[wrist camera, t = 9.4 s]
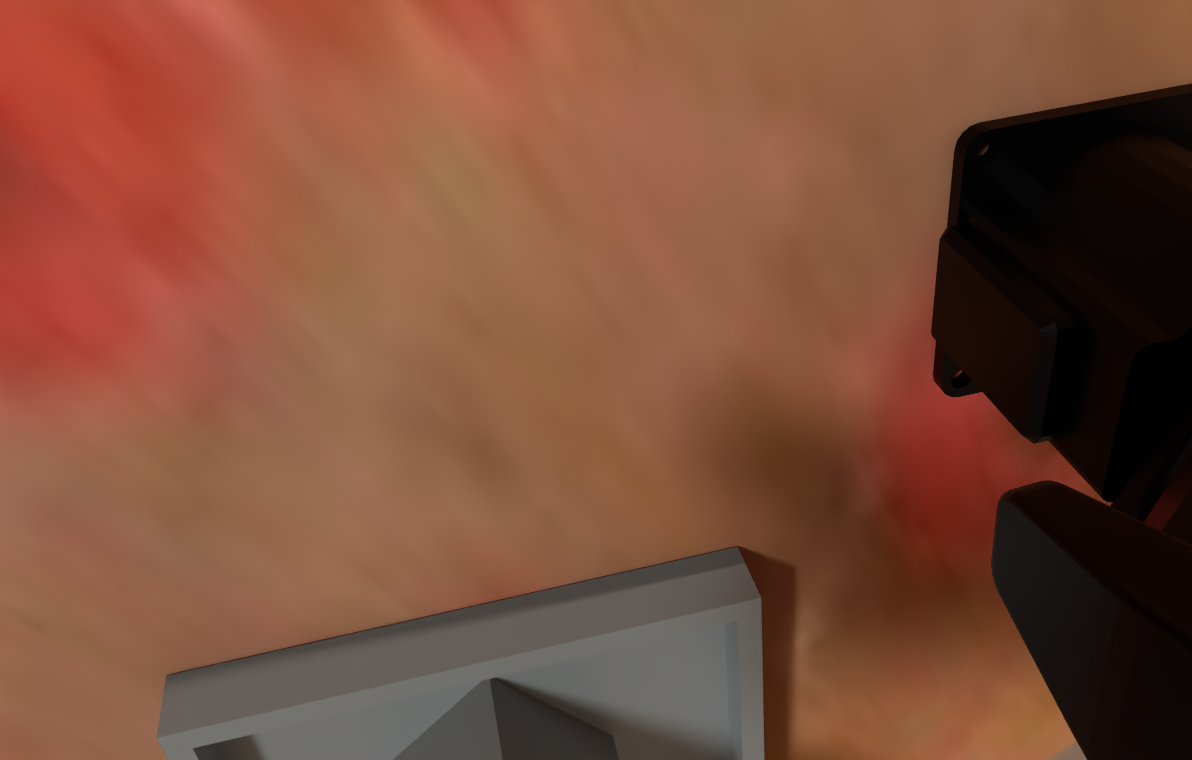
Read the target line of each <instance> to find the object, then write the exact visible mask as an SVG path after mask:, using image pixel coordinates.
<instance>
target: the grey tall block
mask: <svg viewBox="0 0 1192 760" xmlns="http://www.w3.org/2000/svg"><path fill="white" fill-rule="evenodd" d="M393 760H619V758H618V754H617V750H616V746H615V743H614V739H613V736H612V735H610V734H608V733H606V732H604V731H602V730H600V729H598V728H596V727H594V726H592V725H590V724H588V723H586V722H584V721H582V720H580V719H578V718H576V717H574V716H572V715H570V714H568V713H566V712H564V711H561V710H559V709H557V708H555V707H553V706H551V705H549V704H547V703H545V702H543V701H541V700H539V699H537V698H535V697H533V696H531V695H529V694H527V693H525V692H523V691H521V690H519V689H517V688H515V687H513V686H511V685H509V684H507V683H505V682H503V681H501V680H499V679H497V678H491V679H487V680H483V681H481V682H480V683H479V684H477V685H476V686H475V687H474V688H473V689H472V690H471V691H470V692H468V693H467V694H466V695H465V696H464V697H463V698H462V699H461V700H459V701H458V702H457V703H456V704H455V705H454V706H453V707H452V708H450V709H449V710H448V711H447V712H446V713H445V714H444V715H443V716H442V717H440V718H439V719H438V720H437V721H436V722H435V723H434V724H433V725H431V726H430V727H429V728H428V729H427V730H426V731H425V732H424V733H422V734H421V735H420V736H419V737H418V738H417V739H416V740H415V741H413V742H412V743H411V744H410V745H409V746H408V747H407V748H406V749H404V750H403V751H402V752H401V753H400V754H399V755H398V756H397V757H395V758H394V759H393Z"/></svg>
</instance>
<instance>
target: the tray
mask: <svg viewBox="0 0 1192 760" xmlns="http://www.w3.org/2000/svg"><path fill="white" fill-rule="evenodd" d="M491 678H497V679H499V680H501V681H503V682H505V683H507V684H509V685H511V686H513V687H515V688H517V689H519V690H521V691H523V692H525V693H527V694H529V695H531V696H533V697H535V698H537V699H539V700H541V701H543V702H545V703H547V704H549V705H551V706H553V707H555V708H557V709H559V710H561V711H564V712H566V713H568V714H570V715H572V716H574V717H576V718H578V719H580V720H582V721H584V722H586V723H588V724H590V725H592V726H594V727H596V728H598V729H600V730H602V731H604V732H606V733H608V734H610V735H612V736H613V739H614V743H615V746H616V750H617V754H618V758H619V760H764V715H763V660H762V604H761V596H760V594H759V592H758V589H757V587H756V585H755V583H754V581H753V579H752V577H751V574H750V572H749V570H748V568H747V566H746V564H745V562H744V559H743V557H742V555H741V553H740V551H739V549H738V547H734V548H729V549H725V550H720V551H716V552H712V553H707V554H703V555H698V556H694V557H689V558H685V559H681V560H676V561H672V562H667V563H663V564H658V565H654V566H650V567H645V568H641V569H636V570H632V571H627V572H623V573H619V574H614V575H610V576H605V577H601V578H596V579H592V580H588V581H583V582H579V583H574V584H570V585H565V586H561V587H557V588H552V589H548V590H543V591H539V592H534V593H530V594H526V595H521V596H517V597H512V598H508V599H503V600H499V601H495V602H490V603H486V604H481V605H477V606H472V607H468V608H464V609H459V610H455V611H450V612H446V613H441V614H437V615H433V616H428V617H424V618H419V619H415V620H410V621H406V622H402V623H397V624H393V625H388V626H384V627H379V628H375V629H371V630H366V631H362V632H357V633H353V634H348V635H344V636H340V637H335V638H331V639H326V640H322V641H317V642H313V643H309V644H304V645H300V646H295V647H291V648H286V649H282V650H278V651H273V652H269V653H264V654H260V655H255V656H251V657H246V658H242V659H238V660H233V661H229V662H224V663H220V664H215V665H211V666H207V667H202V668H198V669H193V670H189V671H184V672H180V673H176V674H171V675H167V676H166V682H165V688H164V694H163V701H162V707H161V713H160V720H159V726H158V733H157V740H158V741H159V743H160V745H161V747H162V749H163V751H164V753H165V755H166V756H167V758H168V760H393V759H394V758H395V757H397V756H398V755H399V754H400V753H401V752H402V751H403V750H404V749H406V748H407V747H408V746H409V745H410V744H411V743H412V742H413V741H415V740H416V739H417V738H418V737H419V736H420V735H421V734H422V733H424V732H425V731H426V730H427V729H428V728H429V727H430V726H431V725H433V724H434V723H435V722H436V721H437V720H438V719H439V718H440V717H442V716H443V715H444V714H445V713H446V712H447V711H448V710H449V709H450V708H452V707H453V706H454V705H455V704H456V703H457V702H458V701H459V700H461V699H462V698H463V697H464V696H465V695H466V694H467V693H468V692H470V691H471V690H472V689H473V688H474V687H475V686H476V685H477V684H479V683H480V682H481V681H483V680H487V679H491Z"/></svg>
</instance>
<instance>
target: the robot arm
mask: <svg viewBox="0 0 1192 760" xmlns="http://www.w3.org/2000/svg"><path fill="white" fill-rule="evenodd" d="M988 141H989V143H990V144H989V147H988V149H987V151H986V152H985V153H984V154H983V155H982V156H980V157H977V158H976V157H975V155H976V152H977V150H978V148H979V147H980V146H981V145H982V144H983V143H986V142H988ZM931 333H932V336H933V338H934V339H935V340H936V348H935V358H934V369H933V378H934V381H935V382H936V384H937V385H938V386H939V387H940V388H941V390H942V391H943V392H944V393H945V394H946V395H948V396H951V397H961V396H965V395H970V394H975V393H979V392H983V393H984V394H985V395H986V396H987V397H988V398H989V400H990V401H991V402H992V403H993V404H994V405H995V406H996V407H997V408H998V410H999V411H1000V412H1001V413H1002V414H1003V415H1004V416H1005V417H1006V418H1007V419H1008V421H1009V422H1010V423H1011V424H1012V425H1013V426H1014V427H1015V428H1016V429H1017V431H1018V432H1019V433H1020V434H1021V435H1022V436H1024V437H1025V438H1027V439H1028V440H1029V441H1031V442H1032V443H1034V444H1035V443H1039V442H1044V441H1049V442H1050V443H1051V444H1052V445H1053V446H1054V447H1055V448H1056V449H1057V450H1058V451H1059V452H1060V454H1061V455H1062V456H1063V457H1064V458H1065V459H1066V460H1067V461H1068V462H1069V463H1070V464H1071V465H1072V466H1073V468H1074V469H1075V470H1076V471H1077V472H1078V473H1079V474H1080V475H1081V476H1082V477H1083V478H1084V479H1085V480H1086V481H1087V483H1088V484H1089V485H1090V486H1091V487H1092V488H1093V489H1094V490H1095V491H1096V492H1097V493H1098V494H1099V495H1100V497H1101V498H1102V499H1104V500H1105V501H1106V502H1113V503H1112V504H1111V506H1108V505H1106V504H1104V503H1102V502H1100V501H1097V500H1095V499H1093V498H1091V497H1089V496H1087V495H1085V494H1083V493H1080V492H1078V491H1076V490H1074V489H1072V488H1070V487H1068V486H1066V485H1063V484H1061V483H1058V482H1054V481H1041V482H1037V483H1033V484H1030V485H1026V486H1022V487H1019V488H1015V489H1011V490H1008V491H1007V492H1005V493H1004V494H1003V495H1002V496H1001V498H1000V499H999V501H998V506H997V513H996V522H995V532H994V541H993V550H992V559H991V568H992V575H993V579H994V582H995V585H996V588H997V590H998V592H999V595H1000V597H1001V598H1002V600H1003V602H1004V604H1005V606H1006V608H1007V610H1008V612H1009V614H1010V616H1011V618H1012V619H1013V621H1014V623H1015V625H1016V627H1017V629H1018V631H1019V633H1020V635H1021V637H1022V638H1023V640H1024V642H1025V644H1026V646H1027V648H1028V650H1029V652H1030V654H1031V656H1032V658H1033V659H1034V661H1035V663H1036V665H1037V667H1038V669H1039V671H1040V673H1041V675H1042V677H1043V678H1044V680H1045V682H1046V684H1047V686H1048V688H1049V690H1050V692H1051V694H1052V696H1053V698H1054V699H1055V701H1056V703H1057V705H1058V707H1059V709H1060V711H1061V713H1062V715H1063V717H1064V719H1065V720H1066V722H1067V724H1068V726H1069V728H1070V730H1071V732H1072V734H1073V735H1074V737H1075V739H1076V741H1077V742H1078V744H1079V746H1080V748H1081V750H1082V751H1083V753H1084V755H1085V757H1086V758H1087V760H1192V84H1186V85H1181V86H1175V87H1170V88H1165V89H1159V90H1154V91H1148V92H1143V93H1137V94H1132V95H1126V96H1121V97H1116V98H1110V99H1105V100H1099V101H1094V102H1088V103H1083V104H1078V105H1072V106H1067V107H1061V108H1056V109H1050V110H1045V111H1040V112H1034V113H1029V114H1023V115H1018V116H1012V117H1007V118H1002V119H996V120H991V121H985V122H980V123H977V124H975V125H972V126H970V127H969V128H968V129H967V130H965V131H964V132H963V133H962V134H961V136H960V137H959V139H958V140H957V143H956V146H955V150H954V160H953V170H952V181H951V191H950V202H949V212H948V222H947V228H946V229H945V231H944V233H943V235H942V236H941V238H940V242H939V253H938V264H937V274H936V285H935V296H934V307H933V318H932V329H931ZM961 370H963V371H962V373H961V374H960V375H959V376H958V377H955V378H953V379H952V377H953V376H954V375H955V374H956V373H957V372H958V371H961Z"/></svg>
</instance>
